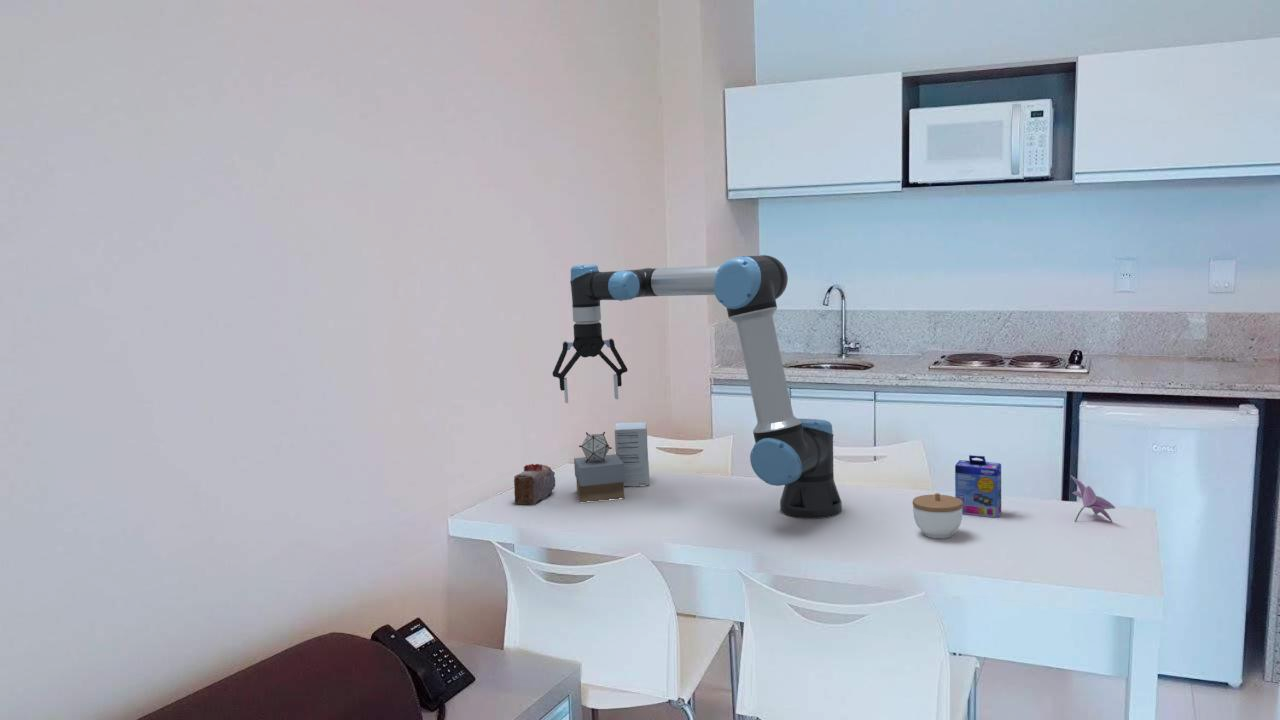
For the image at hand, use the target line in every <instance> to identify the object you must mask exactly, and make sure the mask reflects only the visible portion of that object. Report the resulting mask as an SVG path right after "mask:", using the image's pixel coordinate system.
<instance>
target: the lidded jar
mask: <svg viewBox="0 0 1280 720" xmlns="http://www.w3.org/2000/svg"><path fill="white" fill-rule="evenodd" d="M912 506H913V510H912V511H913V512H912V513H913V517H914V522H915V524H916V526H917V528H919V530H920V531H921V532H923V535H924V536H926V537H927V538H931V539H948V538H951V537H953V534H954V533H956V532H957V531H958V529H959V528H960V527H961V524H962V520H963V514H962V507H963V502H962V500H961V499H959V498H956V497H955V496H953V495H949V494H947V495H946V494H940V493H939V492H936V493H935V494H923V495H919V496H916V497H914V498H913V499H912Z"/></svg>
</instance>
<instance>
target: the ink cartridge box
mask: <svg viewBox="0 0 1280 720" xmlns="http://www.w3.org/2000/svg"><path fill="white" fill-rule="evenodd" d="M978 459H980V460H978ZM954 469H955V470H954V471H955V472H954V483H955V486H954V487H955V488H954V489H955V490H954V492H955V494H954V497H956V498H959V499H961V500H962V502H963V507H962V515H966V516H967V515H968V516H978V517H984V518H985V517H986V518H993V519H994V518H996V519H997V518H998V517H999V516H1000V515H1001V514H1002V512H1003V511H1002V463H1000V462H989V461H987V460H986V456H984V455H971V454H970V455H968V460H966V459H965V460H960V459H959V460H958V462H957V463H955V465H954Z"/></svg>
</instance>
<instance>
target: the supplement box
mask: <svg viewBox="0 0 1280 720" xmlns="http://www.w3.org/2000/svg"><path fill="white" fill-rule="evenodd" d="M614 444H615V445H614V446H615V454H616V455H617V456H618V457H619V458H620V460H621V461H622V462H623V463H624V475H625V482H623V483H624V486H633V487H641V486H640V485H649V486H650V465H649V462H650V461H649V450H648V447H649V446H648V427H647V422H645V421H643V422H642V421H639V422H637V421H636V422H619V423H615V427H614Z"/></svg>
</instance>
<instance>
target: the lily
mask: <svg viewBox="0 0 1280 720" xmlns="http://www.w3.org/2000/svg"><path fill="white" fill-rule="evenodd" d="M1070 478H1071V479H1072V480H1073V481H1074V483H1075V484H1076V487H1078V490H1079V491H1073V492H1072V494H1073V495H1075V496H1077V497H1078V498H1080V499H1081V500H1082V507H1081V509H1080V510H1079V511H1078V514H1077V515H1076V517H1075V520H1074V522H1075V523H1076V522H1077V521H1078V518H1079V516H1080V515H1081V513H1082V511H1083V510H1084V509H1086V508H1088V509H1091V510H1092V512H1093V514H1094V515H1098V514H1099V513H1101V515H1104V517H1105V518H1107V519H1108V520H1109V521H1111V523H1113V519H1112V518H1111V516H1110V514H1109V513H1108V511H1106V510H1112V509H1116V506H1115V505H1113V503H1111V502H1110V501H1109V500H1107V499H1105V498H1104V497H1101V496H1098V495H1096V493H1095V491H1094V489H1093V488H1092V487H1091V486H1090V485H1088V486H1085V484H1083V483H1082V481H1080V480H1079V479H1077V478H1076V477H1075V476H1073V475H1070Z"/></svg>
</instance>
